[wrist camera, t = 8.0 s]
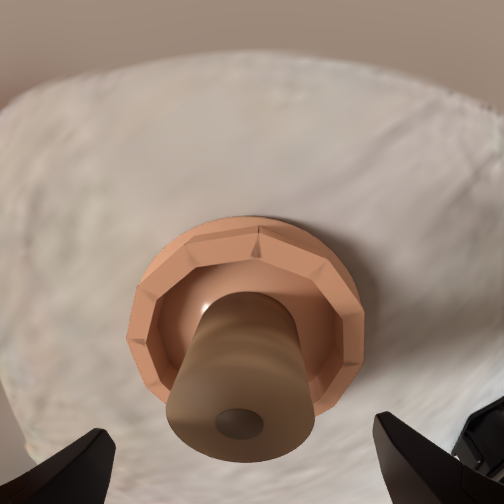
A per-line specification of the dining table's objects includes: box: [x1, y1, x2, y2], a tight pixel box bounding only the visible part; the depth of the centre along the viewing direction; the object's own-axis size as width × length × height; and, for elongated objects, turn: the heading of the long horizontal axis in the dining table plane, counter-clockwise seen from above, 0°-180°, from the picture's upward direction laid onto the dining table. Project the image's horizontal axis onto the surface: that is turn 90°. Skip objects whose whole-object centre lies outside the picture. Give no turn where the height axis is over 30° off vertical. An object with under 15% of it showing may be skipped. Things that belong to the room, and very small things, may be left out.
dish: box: [126, 216, 364, 417], centre depth 14 cm, size 12×12×3 cm
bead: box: [166, 291, 315, 463], centre depth 11 cm, size 5×5×6 cm
